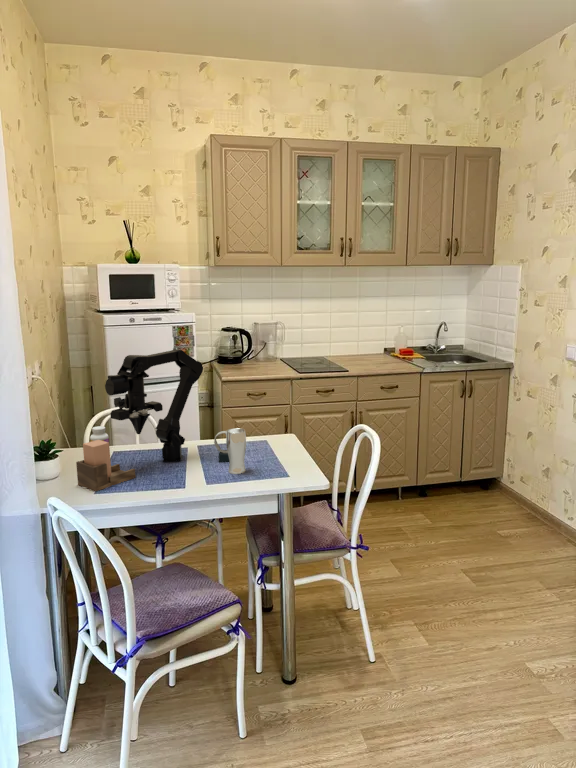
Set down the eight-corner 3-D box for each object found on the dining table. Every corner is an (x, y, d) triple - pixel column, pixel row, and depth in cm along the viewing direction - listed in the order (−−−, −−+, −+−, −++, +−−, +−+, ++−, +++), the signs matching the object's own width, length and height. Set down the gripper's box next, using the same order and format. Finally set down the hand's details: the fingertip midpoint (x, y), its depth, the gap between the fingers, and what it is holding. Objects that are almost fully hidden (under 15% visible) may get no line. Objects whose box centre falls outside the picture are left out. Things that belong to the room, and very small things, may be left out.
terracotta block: (101, 476, 201) (98, 439, 198) (111, 479, 197) (109, 442, 195) (85, 481, 196) (82, 443, 194) (96, 485, 193) (93, 447, 190)
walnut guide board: (118, 471, 209) (116, 450, 207) (135, 477, 203) (134, 455, 201) (78, 484, 196) (76, 461, 195) (95, 491, 190) (93, 467, 189)
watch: (235, 462, 218) (234, 433, 216) (214, 462, 218) (213, 433, 215) (236, 457, 223) (236, 429, 221) (215, 457, 223) (214, 429, 221)
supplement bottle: (106, 463, 218) (104, 430, 215) (89, 463, 218) (86, 430, 215) (112, 457, 224) (110, 425, 222) (95, 457, 224) (92, 425, 222)
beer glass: (228, 468, 211) (227, 427, 208) (247, 468, 211) (246, 427, 208) (225, 474, 204) (224, 433, 202) (245, 474, 204) (244, 433, 201)
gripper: (142, 384, 218) (145, 424, 221) (99, 392, 204) (102, 436, 207) (162, 387, 211) (164, 429, 214) (119, 396, 197) (122, 441, 200)
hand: (138, 433), depth 209 cm, fingers closed
